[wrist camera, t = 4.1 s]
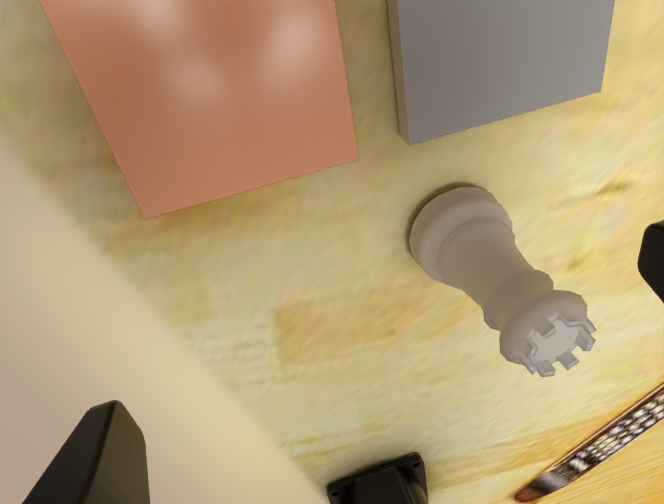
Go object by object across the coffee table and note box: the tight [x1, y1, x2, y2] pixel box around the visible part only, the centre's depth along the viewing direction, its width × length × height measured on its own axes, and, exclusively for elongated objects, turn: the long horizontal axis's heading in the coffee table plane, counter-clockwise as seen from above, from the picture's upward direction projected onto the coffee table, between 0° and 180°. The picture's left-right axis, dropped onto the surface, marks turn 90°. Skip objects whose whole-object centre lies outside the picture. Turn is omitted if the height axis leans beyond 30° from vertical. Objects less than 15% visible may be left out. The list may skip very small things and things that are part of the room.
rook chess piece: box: [409, 187, 596, 377], centre depth 19 cm, size 4×4×8 cm
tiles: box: [39, 0, 615, 220], centre depth 16 cm, size 8×18×1 cm, turn 101°
